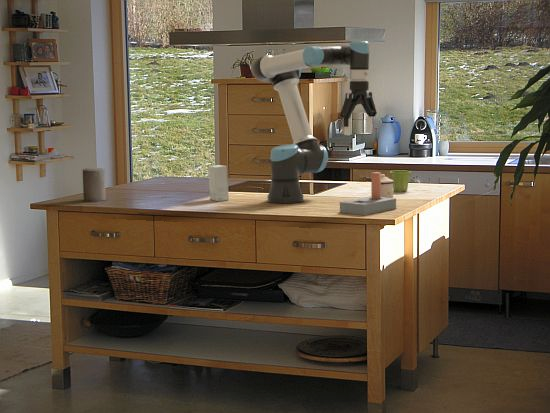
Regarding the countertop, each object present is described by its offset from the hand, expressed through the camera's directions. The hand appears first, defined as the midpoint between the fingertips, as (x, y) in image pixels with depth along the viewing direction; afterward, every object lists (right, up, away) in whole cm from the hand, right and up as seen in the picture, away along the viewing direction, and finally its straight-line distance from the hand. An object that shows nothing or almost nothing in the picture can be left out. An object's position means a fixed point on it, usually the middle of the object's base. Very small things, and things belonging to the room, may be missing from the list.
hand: (358, 133), depth 380 cm
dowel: (+6, -30, -7) cm, 31 cm away
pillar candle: (-112, -26, +35) cm, 120 cm away
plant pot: (+23, -22, +44) cm, 54 cm away
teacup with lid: (+10, -28, +8) cm, 31 cm away
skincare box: (-57, -26, +27) cm, 69 cm away
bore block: (+3, -31, -11) cm, 33 cm away
